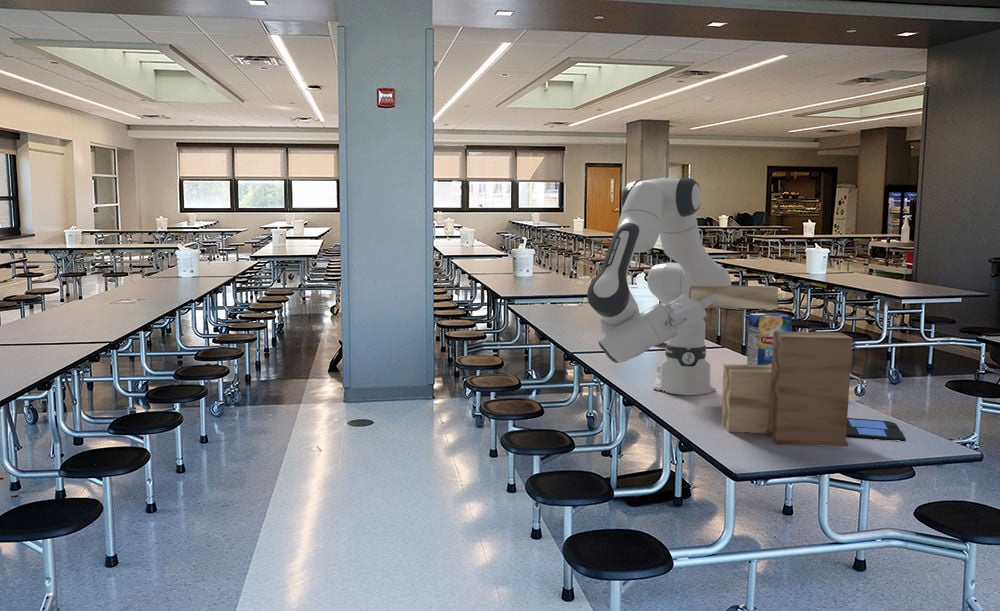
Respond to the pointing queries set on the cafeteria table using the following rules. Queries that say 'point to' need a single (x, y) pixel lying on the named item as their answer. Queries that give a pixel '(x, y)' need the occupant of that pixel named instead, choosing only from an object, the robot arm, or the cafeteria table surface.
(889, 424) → the game console
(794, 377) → the walnut block
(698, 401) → the cafeteria table surface
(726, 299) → the maple batten
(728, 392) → the oak stand
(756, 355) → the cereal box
